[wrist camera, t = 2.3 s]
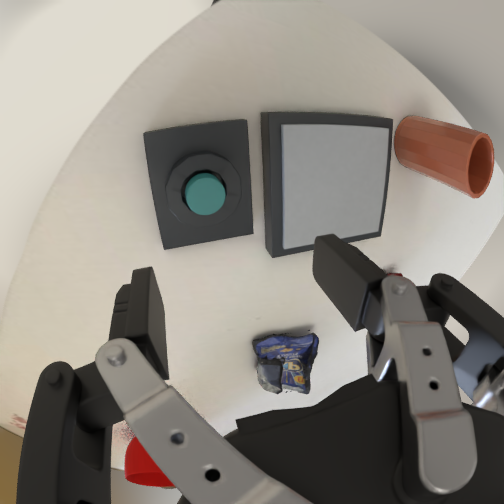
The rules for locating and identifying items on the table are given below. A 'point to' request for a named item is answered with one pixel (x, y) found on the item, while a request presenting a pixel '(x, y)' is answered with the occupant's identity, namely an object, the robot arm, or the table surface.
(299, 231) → the scale
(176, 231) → the pad
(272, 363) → the snack package
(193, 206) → the button
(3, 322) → the table surface
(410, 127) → the cup
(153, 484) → the ceramic cup
